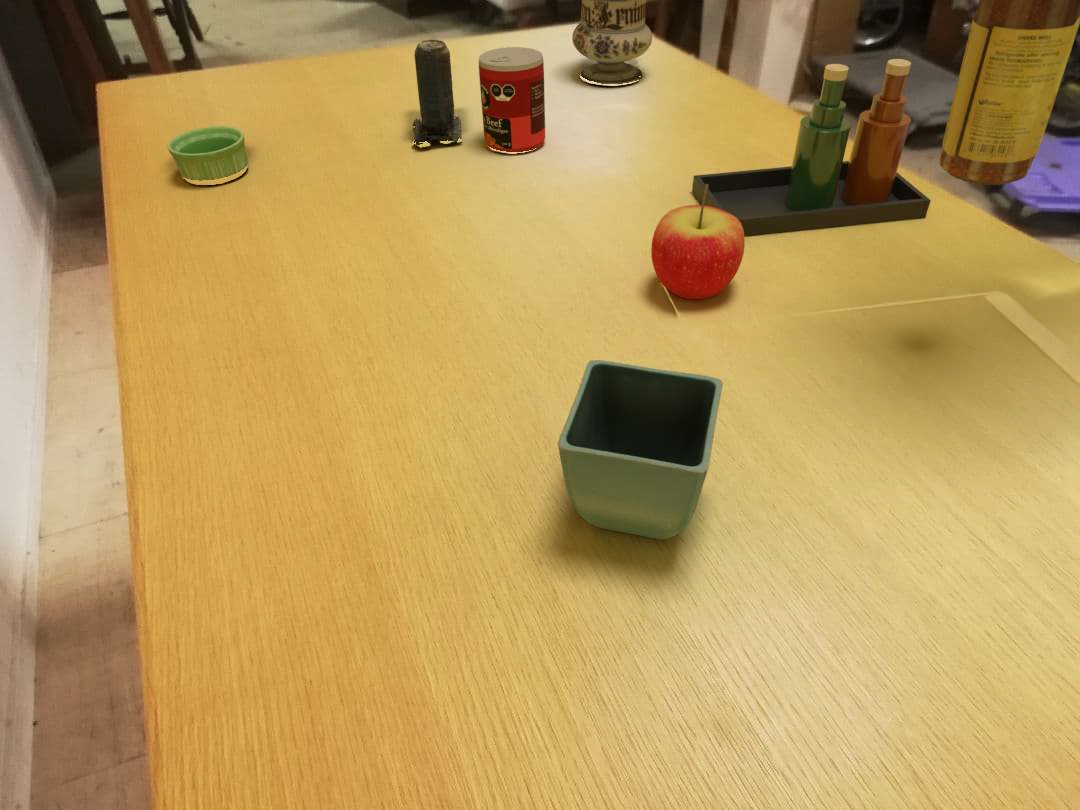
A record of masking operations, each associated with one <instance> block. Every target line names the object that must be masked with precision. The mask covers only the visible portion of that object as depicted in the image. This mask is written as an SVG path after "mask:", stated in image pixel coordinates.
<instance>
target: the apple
mask: <svg viewBox="0 0 1080 810" xmlns="http://www.w3.org/2000/svg"><path fill="white" fill-rule="evenodd" d="M708 186H709V184H706V185H705V190H704V195H703V201H702V205H700V204H693V205H692V204H691V205H685V206H680V207H676V208H673V209H671V210H669V211H668V212H666V213H665V214H664V215H663V216H662V217H661V219H660V220H659V222H658V223H657V225H656V227H655V229H654V232H653V236H652V240H651V248H650V253H651V262H652V266H653V270H654V272H655V273H654V274H656V277H657V278H658V280H659V282H660V283H661V285H662V286H663V287H664V288H665V289H666V290H667V291H669V292H670V293H672V294H674V295H675V296H677V297H680V298H683V299H685V300H703V299H708V298H711V297H714V296H717V295H719V294H720V293H721V292H723V291H724V290H725V289H726V288H727V287H728V286H729V285H730V283H731V282H732V281H733V279H734V278H735V276H736V275H737V273H738V271H739V269H740V267H741V264H742V261H743V257H744V252H745V247H746V246H745V242H746V239H745V238H746V237H744V230H743V227H742V224H741V222H740V221H739V220H738V219H737V218H736V217H735V216H733V215H732V214H730V213H728V212H726V211H724V210H721V209H719V208H716V207H712V206H707V205H704V203H705V198H706V194H707V190H708Z"/></svg>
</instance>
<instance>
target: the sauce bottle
mask: <svg viewBox="0 0 1080 810" xmlns="http://www.w3.org/2000/svg"><path fill="white" fill-rule="evenodd" d="M1079 28H1080V0H978V4H977V9H976V12H975V14H974V16H973V18H972V20H971V26H970V28H969V29H970V30H969V33H968V38H967V42H966V47H965V51H964V54H963V59H962V63H961V67H960V71H959V75H958V79H957V83H956V87H955V90H954V95H953V99H952V102H951V107H950V111H949V115H948V120H947V123H946V126H945V131H944V135H943V140H942V152H941V154H940V158H939V165H940V167H941V168H942V169H943V170H944V171H946V172H947V173H948V174H949V175H950V176H951V177H953V178H955V179H957V180H960V181H963V182H968V183H970V184H977V185H985V186H988V185H990V186H992V185H994V186H1001V185H1006V184H1010V183H1013V182H1017V181H1020V180H1022V179H1024V178H1025V177H1026V176H1027V174H1028V172H1029V171H1030V169H1031V167H1032V165H1033V164H1032V163H1033V161H1034V159H1035V157H1036V155H1037V154H1038V153H1039V151H1040V147H1041V144H1042V142H1043V138H1044V135H1045V133H1046V129H1047V127H1048V123H1049V121H1050V117H1051V115H1052V111H1053V109H1054V105H1055V101H1056V98H1057V95H1058V93H1059V89H1060V86H1061V84H1062V80H1063V77H1064V74H1065V70H1066V68H1067V64H1068V61H1069V58H1070V55H1071V52H1072V50H1073V45H1074V43H1075V39H1076V37H1077V33H1078V30H1079Z"/></svg>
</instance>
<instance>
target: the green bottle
mask: <svg viewBox="0 0 1080 810" xmlns="http://www.w3.org/2000/svg"><path fill="white" fill-rule="evenodd" d="M849 70H850V68H849V66H847V65H845V64H841V63H829V64H827V65H825V67H824V72H823V83H822V88H821V93H820V96H819V98H817V99H815V100H814V101H813V102H812V106H811V111H810V115H806V116H803V117H802V118H801V120H800V121H799V127H798V132H797V137H796V143H795V148H794V153H793V158H792V163H791V164H792V165H791V166H792V169H791V174H790V180H789V185H788V190H787V196H786V201H785V202H786V205H787V206H788V207H789V208H790V209H792V210H794V211H804V210H814V209H824V208H832V206H833V202H834V198H835V193H836V189H837V185H838V180H839V176H840V171H841V167H842V163H843V161H844V158H845V154H846V149H847V146H848V145H847V144H848V140H849V137H850V132H851V127H852V124H851V122H850V120H848V119H846V118H844V117H845V112H846V107H847V104H846V103H847V102H845V101H843V100H842V96H843V93H844V87H845V83H846V80H847V78H848V75H849Z"/></svg>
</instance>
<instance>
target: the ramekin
mask: <svg viewBox="0 0 1080 810" xmlns="http://www.w3.org/2000/svg"><path fill="white" fill-rule="evenodd" d="M166 145H167V150H168V153H169V154H170V155H171V156H172V158H173V160H174V163H175V166H176V167H177V169H178V171H179V174H180V176H181V175H182V176H183V177H185V178H187V179H190V180H199V181H202V180H215V179H220V178H224V177H228V176H231V175H233V174H236V173H238V172H240V171H241V170H243V169H244V168H245V167H246V166H247V164H248V165H249V161H248V154H247V149H246V145H245V133H244V131H242V130H241V129H239V128H238V127H234V126H228V125H227V126H226V125H212V126H211V125H210V126H205V127H199V128H194V129H191V130H187V131H185V132H183V133H180V134H178V135H176V136H174V137H173V138H171V139H170V141H168V143H167V144H166ZM182 176H181V177H182Z"/></svg>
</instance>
